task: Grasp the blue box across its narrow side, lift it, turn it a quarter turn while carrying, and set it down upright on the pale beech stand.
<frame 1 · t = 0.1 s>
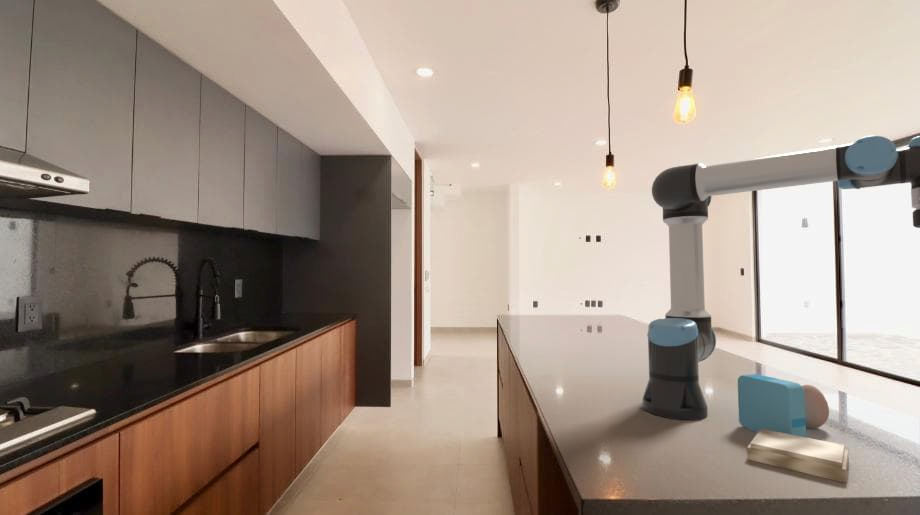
egg: (810, 428, 100), on the countertop
stand: (797, 460, 82), on the countertop
blue box: (771, 434, 96), on the countertop
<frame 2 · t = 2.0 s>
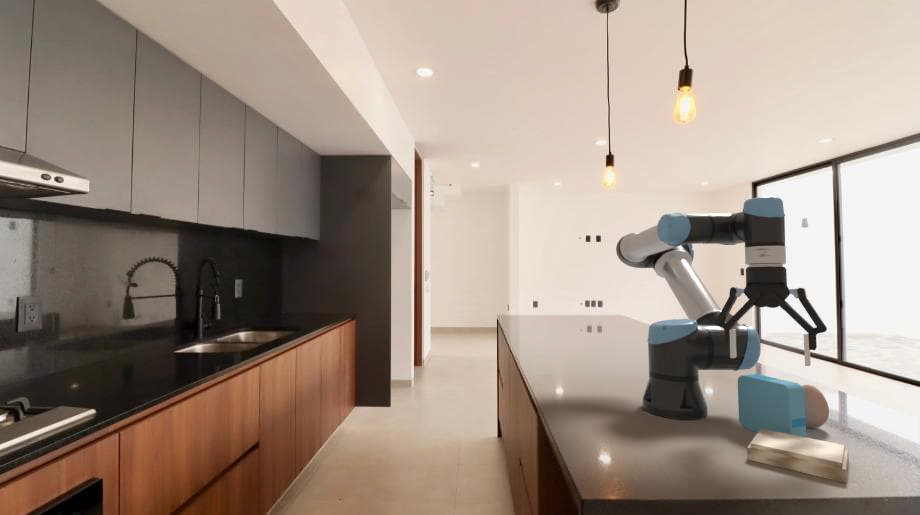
hand: (768, 361, 97), 16 cm above the countertop, fingers open, 13 cm apart
nothing on the countertop moved.
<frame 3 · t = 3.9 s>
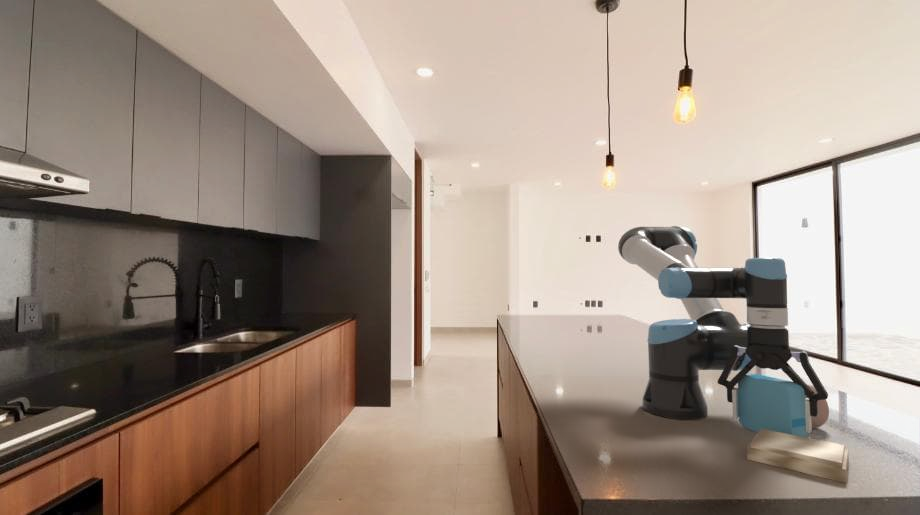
hand: (770, 424, 96), 2 cm above the countertop, fingers closed on blue box, 12 cm apart
blue box: (771, 434, 96), on the countertop, touching gripper
everything else where it was.
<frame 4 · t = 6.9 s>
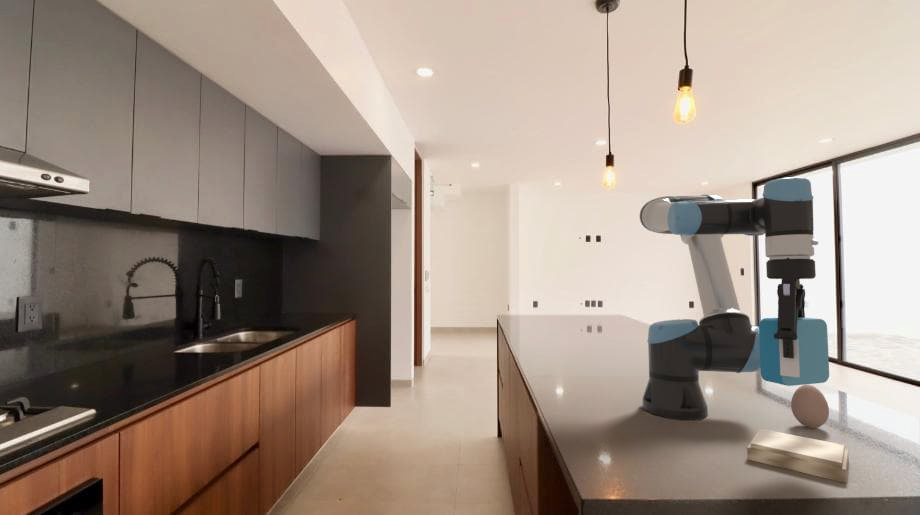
hand: (794, 370, 83), 17 cm above the countertop, fingers closed on blue box, 12 cm apart
blue box: (795, 383, 82), point 14 cm above the countertop, touching gripper
everything else where it was.
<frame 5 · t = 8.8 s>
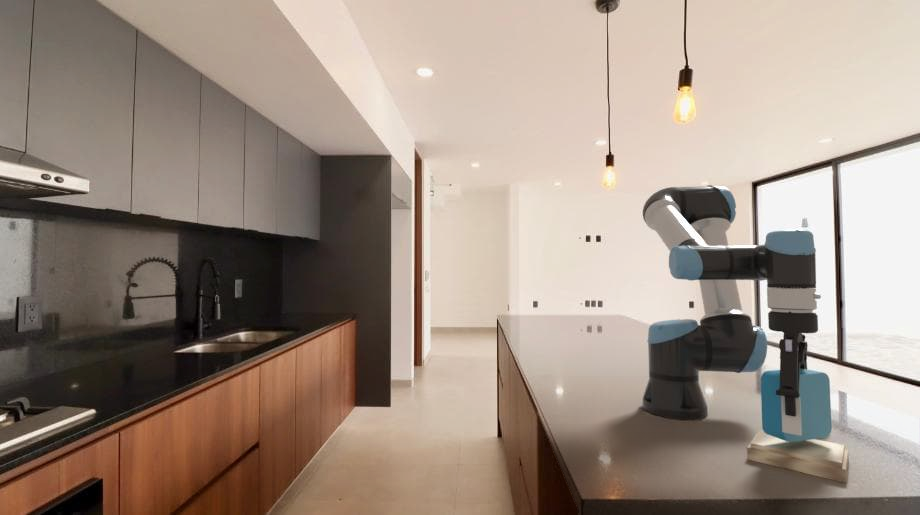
hand: (796, 424, 82), 7 cm above the countertop, fingers closed on blue box, 12 cm apart
blue box: (797, 437, 82), point 4 cm above the countertop, touching gripper
everything else where it was.
when the fingers open (6 cm above the countertop, at t = 9.8 s): blue box drops 1 cm, resting on stand.
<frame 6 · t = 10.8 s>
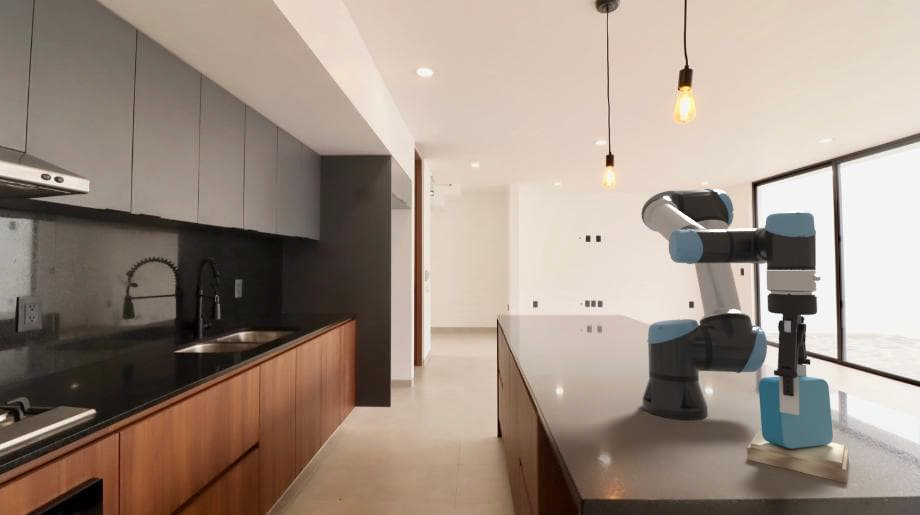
hand: (794, 404, 83), 10 cm above the countertop, fingers open, 13 cm apart
blue box: (797, 444, 82), point 3 cm above the countertop, touching stand
everything else where it was.
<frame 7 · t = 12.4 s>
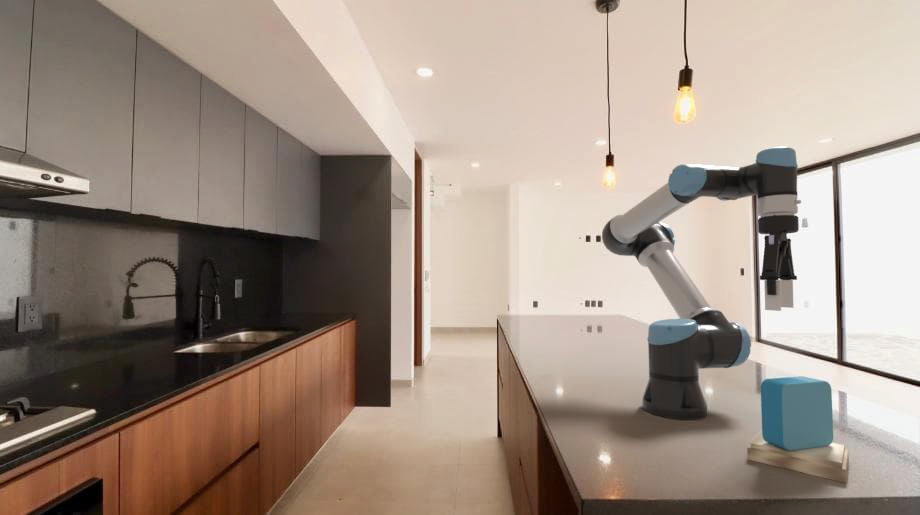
hand: (779, 309, 99), 27 cm above the countertop, fingers open, 13 cm apart
nothing on the countertop moved.
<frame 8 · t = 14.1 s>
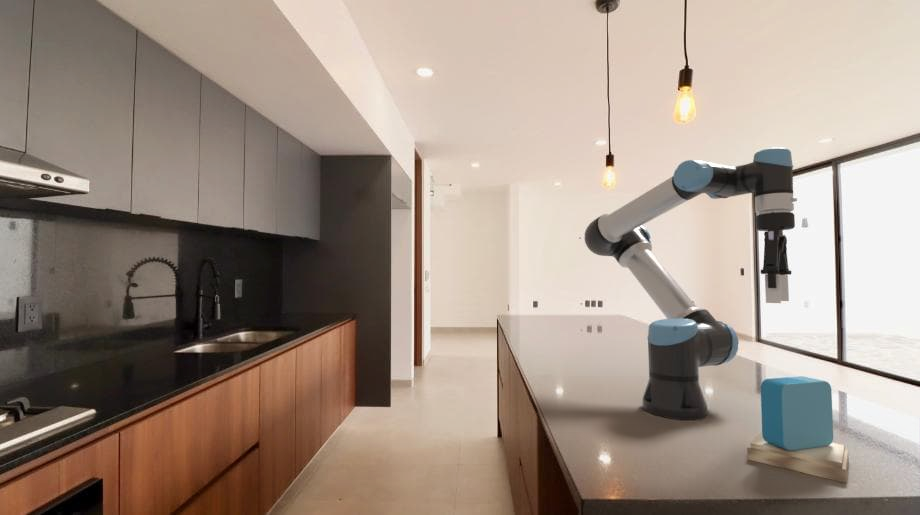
hand: (777, 302, 103), 29 cm above the countertop, fingers open, 13 cm apart
nothing on the countertop moved.
at the end: blue box 0.1 cm from the stand (horizontally); blue box point 2.8 cm above the countertop; blue box tilted 0° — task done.
